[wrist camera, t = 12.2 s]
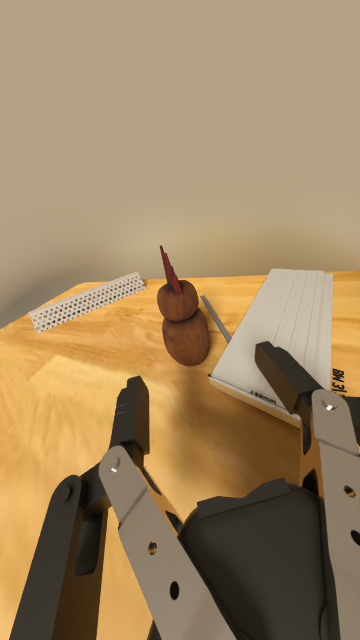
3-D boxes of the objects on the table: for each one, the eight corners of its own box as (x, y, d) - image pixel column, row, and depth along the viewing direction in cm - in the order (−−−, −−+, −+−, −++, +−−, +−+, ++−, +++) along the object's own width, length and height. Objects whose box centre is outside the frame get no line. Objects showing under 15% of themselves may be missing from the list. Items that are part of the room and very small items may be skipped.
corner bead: (139, 282, 54) (133, 267, 52) (148, 290, 48) (142, 274, 45) (44, 320, 47) (31, 305, 44) (38, 336, 40) (22, 320, 37)
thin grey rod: (203, 295, 37) (203, 295, 37) (244, 359, 22) (244, 358, 21) (200, 296, 37) (200, 296, 37) (238, 361, 22) (238, 360, 21)
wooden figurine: (174, 340, 27) (144, 246, 19) (209, 336, 26) (194, 234, 18) (170, 375, 22) (124, 267, 13) (213, 372, 21) (194, 252, 12)
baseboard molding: (341, 279, 31) (270, 275, 38) (347, 264, 29) (272, 262, 36) (349, 454, 13) (209, 386, 19) (367, 441, 11) (206, 371, 18)
